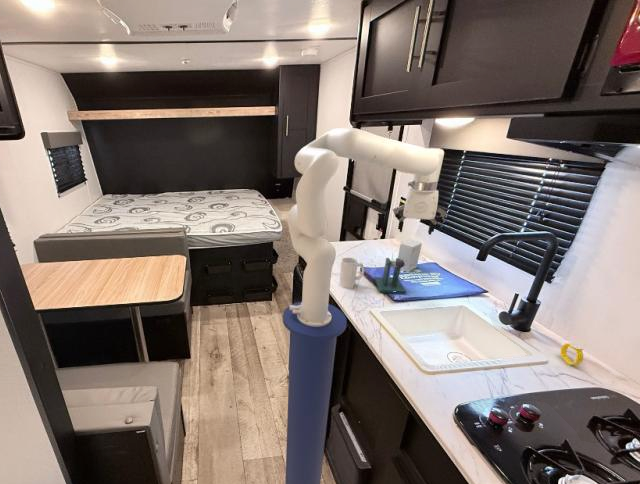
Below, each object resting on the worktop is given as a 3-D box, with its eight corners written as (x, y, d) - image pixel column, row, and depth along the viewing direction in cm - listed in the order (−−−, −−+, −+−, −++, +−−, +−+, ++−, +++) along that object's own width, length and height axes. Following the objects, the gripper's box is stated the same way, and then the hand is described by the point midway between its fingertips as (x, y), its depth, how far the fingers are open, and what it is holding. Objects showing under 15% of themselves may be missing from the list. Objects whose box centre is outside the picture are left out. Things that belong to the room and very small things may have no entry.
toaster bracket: (405, 294, 130) (410, 266, 125) (379, 292, 132) (384, 265, 127) (397, 280, 141) (402, 254, 136) (374, 279, 143) (378, 254, 137)
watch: (555, 354, 95) (562, 338, 93) (565, 355, 95) (573, 339, 92) (569, 368, 90) (578, 351, 87) (581, 369, 89) (590, 352, 87)
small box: (404, 263, 157) (409, 239, 151) (416, 267, 152) (422, 242, 147) (395, 268, 153) (400, 243, 147) (408, 272, 148) (413, 246, 142)
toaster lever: (405, 268, 121) (405, 259, 121) (396, 267, 122) (397, 259, 122) (395, 267, 133) (396, 260, 133) (387, 267, 134) (388, 260, 134)
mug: (340, 288, 137) (342, 263, 132) (337, 281, 143) (340, 257, 138) (363, 288, 136) (367, 263, 131) (360, 281, 142) (364, 257, 137)
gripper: (397, 187, 110) (389, 233, 117) (455, 189, 103) (442, 237, 110) (397, 183, 116) (389, 227, 123) (451, 185, 109) (440, 231, 117)
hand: (414, 232), depth 117 cm, fingers open, 9 cm apart
